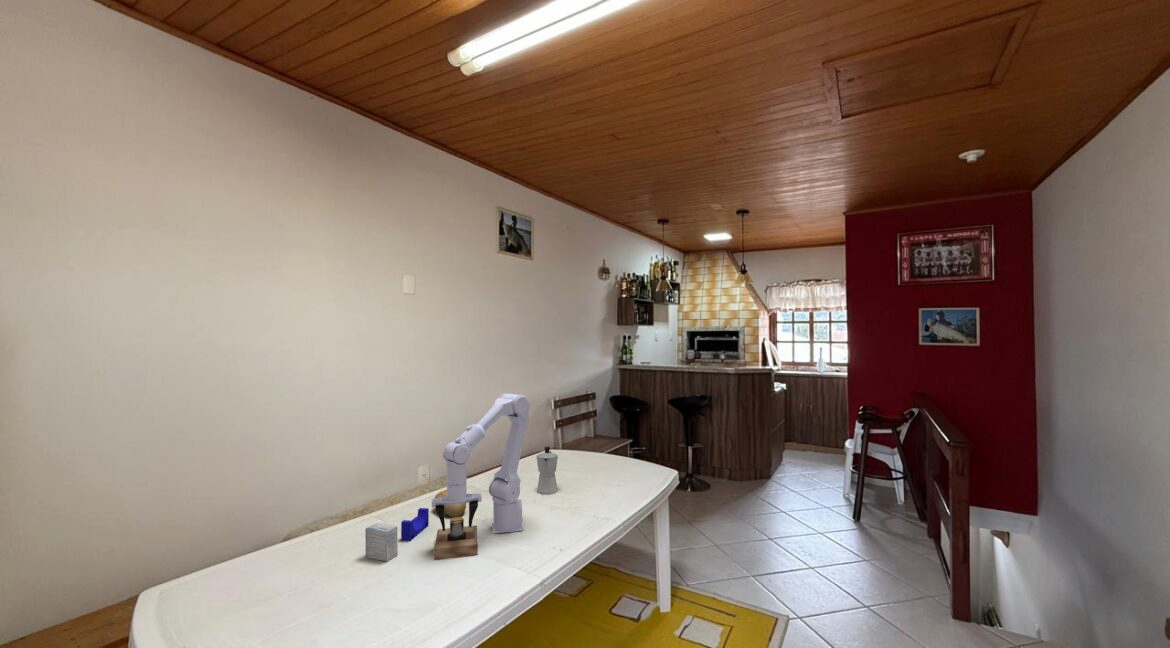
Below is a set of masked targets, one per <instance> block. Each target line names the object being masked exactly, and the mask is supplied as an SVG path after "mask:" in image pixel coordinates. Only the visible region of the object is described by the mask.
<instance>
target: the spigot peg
mask: <svg viewBox="0 0 1170 648" xmlns="http://www.w3.org/2000/svg"><path fill="white" fill-rule="evenodd" d="M464 519H465V518H464V517H463V516H462V517H461V516H459V517H451V518H450V520H449V528H450V541H456V540H464V527H465V525H464V524H465V523H464V522H465V521H464Z"/></svg>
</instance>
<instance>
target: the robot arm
mask: <svg viewBox="0 0 1170 648" xmlns="http://www.w3.org/2000/svg"><path fill="white" fill-rule="evenodd" d="M530 405H531V403H530V401H529V399H528V397H527V395H523V394H514V393H508V392H503V393H501V394H500V396H499V397H498V398H496V399H495V400H494V404H493V405H492V407H490V408H489V410H488V411H487V412H486V413H485V414H484V415H483V416H482V418H481V419H480V420H479V421H478V422H477V423H475V424H473V423H472V424H470V425H467V426H466V427H465V431H463V433H461V434H460V436H458V437H456V438H455V441H452V442H449V443H448V444H447V445H446V446H445V448H444V451H443V452H442V457H443V459H444V460H445V465H446V490H447V496H445V497H441V498H436V499H434V498H432V499H431V508H435V507H436V508H435V512H436V514H437V517H438V518H439V520H440V524H441V527H442V528H441V529H443V531H445V529H446V523H445V522H446V521H445V513H444V505H452V504H461V503H466V504H467V503H468V526H469V528H470V527H472V526H473V525H472V524H473V520H474V518H475V515H476V512H477V510H478V507H479V503H482V493H468V492H467V461H469V459H470V457H471V454H472V452H473V450H474V449H475V448H476V447H477V445H479V444H480V442H482V441H483V440H484V438H485V435H486V434H485V432H486V431H487V430H488V429H489V428H490V427H491V426H493V424H495V423H496V422H497V421H498V420H499V419H500V418H501V417H503V416H504V417H505V416H507V417H508V419H509V420H510V422H511V425H510V427H509V428H510V429H509V433H508V436H507V441H506V444H505V449H504V453H503V458H502V461H501V466H500V469H499V470H498V471H497V472H495V473H494V474H493V475H494V476H493V479H492V480H491V482H490V483H489V485H488V493H489V495H490V497H491V498H492V501H493V506H492V507H493V510H492V511H493V522H491V529H492V530H491V531H492V534H494V535H495V534H504V533H512V532H522V531H523V504H522V503H523V502H522V499H519V497H520V494H521V482H522V481H521V478H520V476H519V474H518V472H517V471H518V469H519V465H520V459H521V455H522V451H523V447H524V442H525V440H526V439H525V438H526V433H527V430H528V425H529V422H530V419H529V418H530V415H529V411H530V409H531V406H530Z"/></svg>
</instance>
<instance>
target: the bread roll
mask: <svg viewBox="0 0 1170 648" xmlns="http://www.w3.org/2000/svg"><path fill="white" fill-rule="evenodd" d="M445 496H447V489H444V490H441V491H440V492H438V493H437V494H436V495H435V497H434V498H433V499H436V498H441V497H445ZM434 508H435V509H436V507H434ZM466 509H467V503H461V504H452V505H444V515H447V516H449V517H451V518H455V517H461V516H462V515H463V514H464V513H465V511H466Z"/></svg>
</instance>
